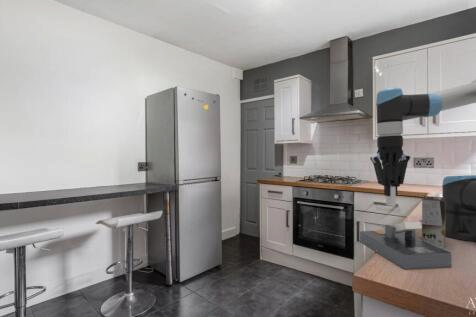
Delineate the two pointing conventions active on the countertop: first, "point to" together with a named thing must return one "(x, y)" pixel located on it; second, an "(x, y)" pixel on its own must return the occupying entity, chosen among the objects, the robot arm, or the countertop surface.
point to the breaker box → (405, 249)
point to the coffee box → (433, 220)
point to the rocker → (404, 227)
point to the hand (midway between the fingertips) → (391, 205)
